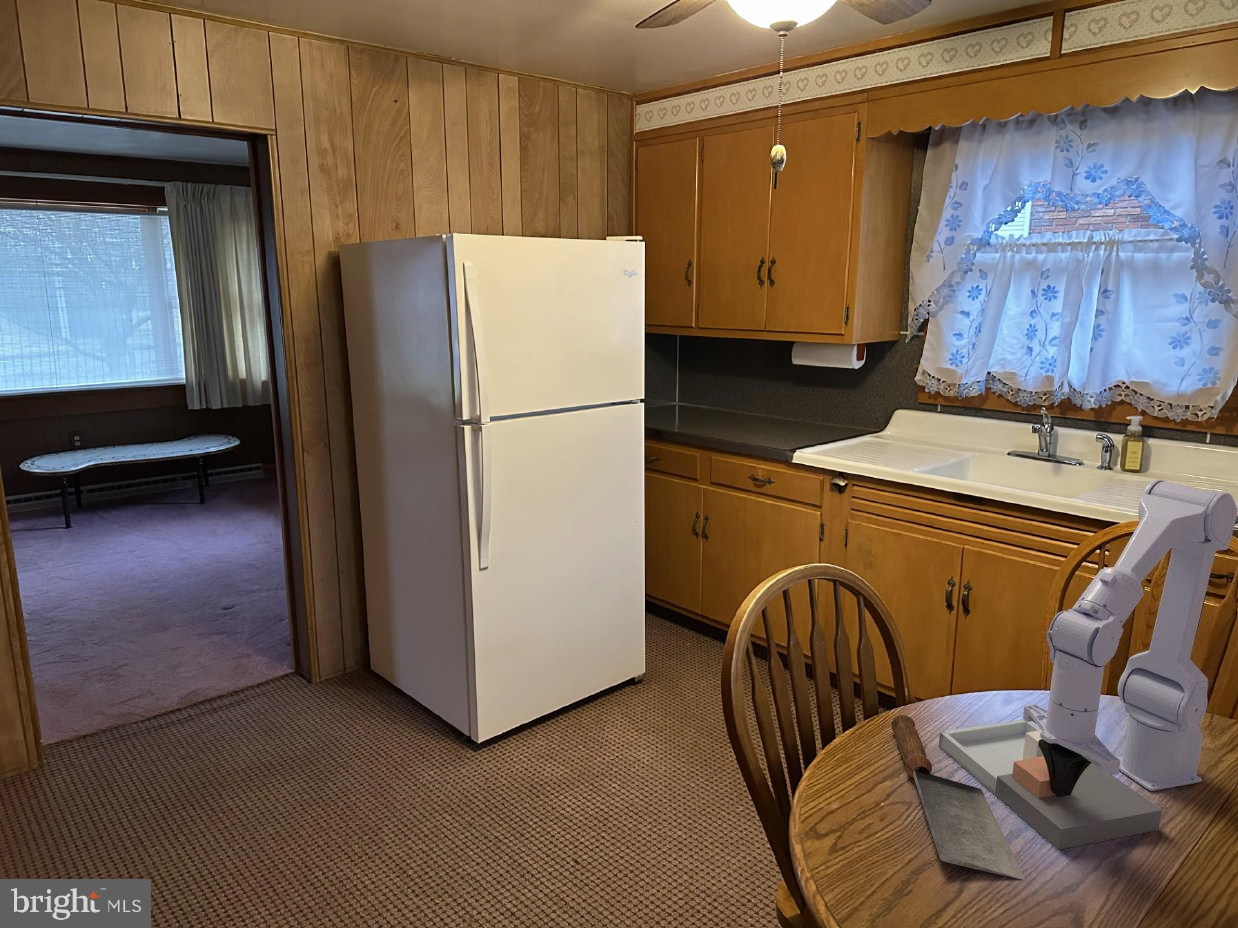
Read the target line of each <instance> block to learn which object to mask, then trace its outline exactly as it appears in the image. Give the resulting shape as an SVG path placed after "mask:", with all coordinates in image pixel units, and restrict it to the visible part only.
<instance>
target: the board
mask: <svg viewBox="0 0 1238 928" xmlns="http://www.w3.org/2000/svg"><path fill="white" fill-rule="evenodd" d="M994 796H995V797H996V798H998V799H999V800H1000V801H1001V802H1002V803H1004V805H1006V806H1007V807H1008V808H1009V809H1010V810H1011V811H1013V813H1015V814H1016V815H1017V816H1018V817H1020V818H1021V819H1022V820H1023V821H1024V822H1026V823H1027V824H1028V825H1029V826H1030V827H1031V828H1032V829H1034V830H1035V831H1036V832H1037V833H1038V834H1040V835H1041V836H1042V837H1043V838H1044V839H1045V840H1046V841H1047V842H1049V843H1050V844H1051V845H1052V846H1053V847H1054V848H1055V849H1057V850H1063V849H1065V850H1066V849H1070V848H1073V847H1074V848H1075V847H1079V846H1084V845H1089V844H1094V843H1100V842H1105V841H1109V840H1115V839H1120V838H1125V837H1129V836H1135V835H1141V834H1145V833H1151V832H1156V831H1159V830H1160V825H1161V817H1162V812H1163V811H1162V809H1161V808H1160V807H1158V806H1157V805H1155V804H1154V803H1153V802H1151V801H1149V800H1148V799H1146V798H1145V797H1144V796H1142V795H1141V794H1140V793H1138V792H1137V791H1136V790H1134V789H1133V788H1131V787H1129V786H1128V785H1127V784H1126V783H1124V782H1122V781H1121V780H1120V779H1118V778H1117V777H1115V776H1114V775H1109V776H1105V775H1104V774H1102V773H1101V772H1100V768H1099V767H1097V766H1096V765H1094V764H1093V763H1091V764H1090V765H1089V766H1088V767H1087V768H1086V769H1085V771H1084V772H1083V773H1082V774H1081V776H1080V777H1079V779H1078V781H1077V783H1076V785H1075V787H1074V789H1073V791H1072V793H1071V795H1069V796H1064V797H1058V796H1056V795H1052V796H1047V797H1041V798H1038V797H1036V796H1035V795H1034V794H1033V793H1031V792H1030V791H1029V790H1027V789H1026V788H1025V787H1024V786H1022V785H1021V784H1020V783H1019V782H1017V781H1016V780H1015V779H1013V778H1012V774H1007V775H1001V776H997V781H996V790H995V795H994Z"/></svg>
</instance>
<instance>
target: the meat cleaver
mask: <svg viewBox="0 0 1238 928" xmlns="http://www.w3.org/2000/svg"><path fill="white" fill-rule="evenodd" d="M890 726H891V730H892V732H893V733H894V736H895V740H896V744H897V746H898V749H899V751H900V752H899V753H900V754H901V758H902V760H903V761H904V763H905V766H904V767H905V772H906V774H907V776H909V777H911V778H912V779H914V783H915V786H916V788H917V792H918V795H919V797H920V801H921V804H922V808H923V810H924V814H925V817H926V819H927V823H928V827H929V829H930V832H931V836H932V838H933V842H934V845H935V849H936V851H937V854H938V857H939V860H940V861H942V862H944V863H948V864H951V865H952V864H953V865H957V866H961V867H965V868H970V869H973V870H976V871H977V870H978V871H982V872H987V873H991V874H995V875H1000V876H1004V877H1008V878H1013V879H1017V880H1021V881H1026V878H1025V876H1024V874H1023V872H1022V870H1021V868H1020V866H1019V864H1018V861H1017V860H1016V858H1015V855H1014V854H1013V852H1012V850H1011V847H1010V845H1009V843H1008V841H1007V839H1006V836H1005V835H1004V833H1003V831H1002V828H1001V827H1000V825H999V823H998V820H997V818H996V817H995V814H994V813H993V811H992V808H991V806H990V804H989V802H988V800H987V798H986V796H985V793H984V792H983V790H982V789H981V788H979V787H976V786H972V785H970V784H966V783H963V782H959V781H956V780H953V779H949V778H946V777H941V776H940V775H939V776H938V775H935V774H932V771H933V765H932V763H931V761H930V760H929V759H928V757H927V753H926V750H925V747H924V745H923V743H922V740H921V738H920V734H919V732H918V730H917V728H916V723H915V721H914V719H913V718H912V717H911V716H908V715H906V714H905V715H904V714H899V715H897V716H895V717H894V718H893V720H892V721H891V725H890Z"/></svg>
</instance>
